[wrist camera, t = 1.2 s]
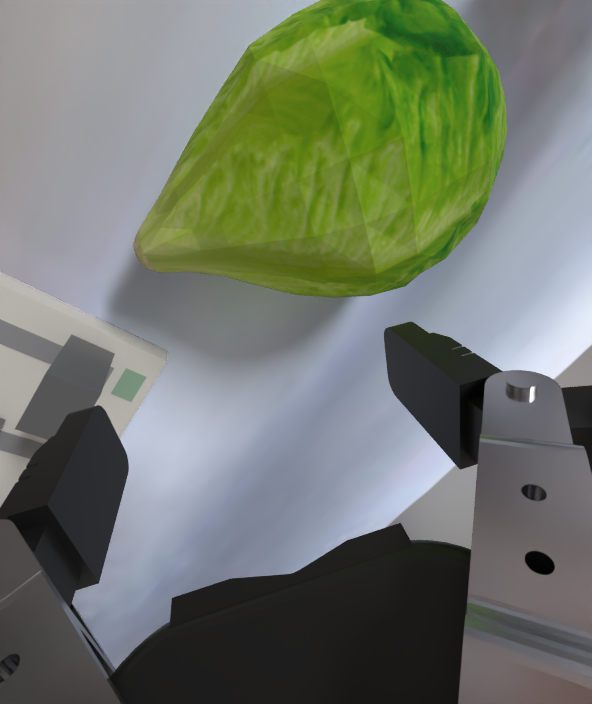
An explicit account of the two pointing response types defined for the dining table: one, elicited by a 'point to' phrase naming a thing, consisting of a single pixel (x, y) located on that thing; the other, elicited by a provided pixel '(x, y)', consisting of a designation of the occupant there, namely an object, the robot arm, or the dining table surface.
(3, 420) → the block
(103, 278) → the dining table surface
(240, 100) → the lettuce
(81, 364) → the block
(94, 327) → the breaker panel
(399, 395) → the robot arm
